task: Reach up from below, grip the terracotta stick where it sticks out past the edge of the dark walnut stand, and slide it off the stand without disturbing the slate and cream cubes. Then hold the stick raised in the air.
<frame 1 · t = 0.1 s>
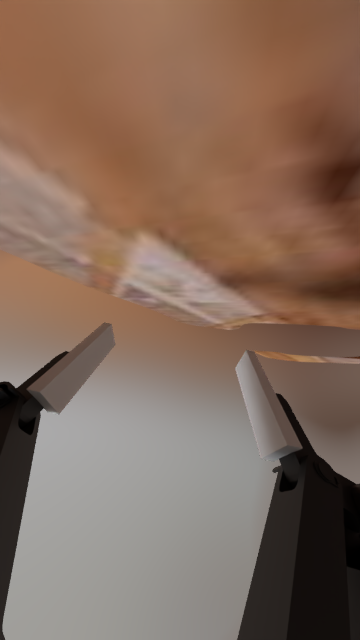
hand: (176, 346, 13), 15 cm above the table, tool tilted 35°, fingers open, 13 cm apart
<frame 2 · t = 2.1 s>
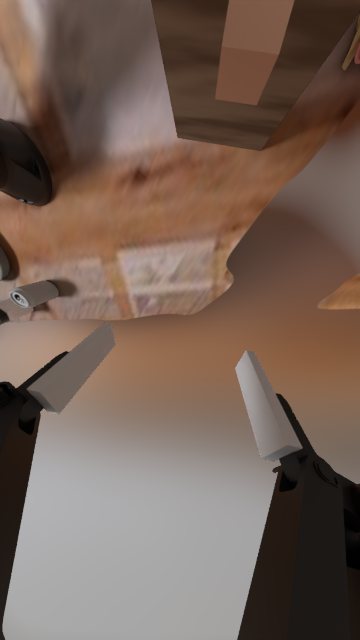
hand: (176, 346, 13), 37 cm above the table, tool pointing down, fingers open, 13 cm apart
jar: (24, 303, 61), on the table
can: (51, 288, 55), on the table
walnut stand: (226, 105, 26), on the table
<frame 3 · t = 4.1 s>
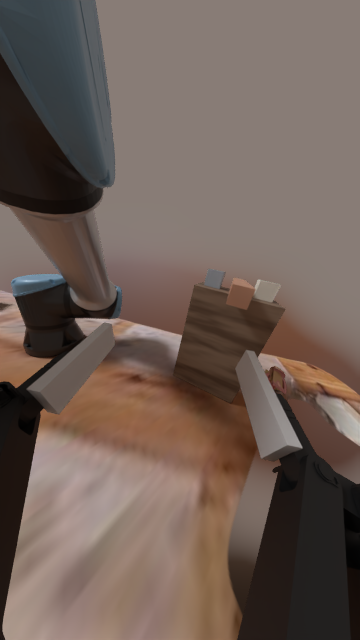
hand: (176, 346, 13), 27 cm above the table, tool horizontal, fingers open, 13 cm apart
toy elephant: (269, 389, 45), on the table
cream cube: (260, 298, 31), point 30 cm above the table, touching walnut stand
terracotta stick: (235, 294, 29), point 30 cm above the table, touching walnut stand
slate cube: (212, 286, 34), point 30 cm above the table, touching walnut stand
walnut stand: (203, 377, 44), on the table
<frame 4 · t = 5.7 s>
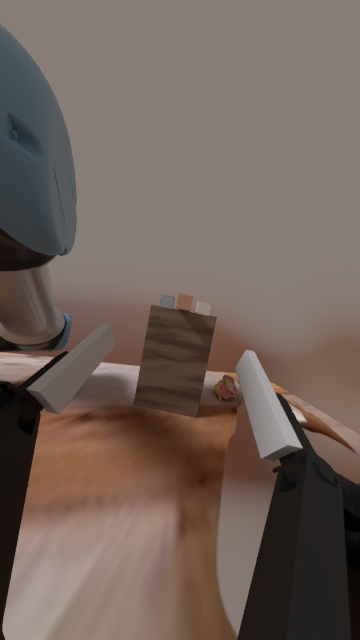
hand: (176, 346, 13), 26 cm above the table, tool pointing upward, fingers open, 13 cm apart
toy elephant: (226, 398, 50), on the table
cream cube: (201, 314, 42), point 30 cm above the table, touching walnut stand
terracotta stick: (183, 311, 38), point 30 cm above the table, touching walnut stand
slate cube: (166, 308, 43), point 30 cm above the table, touching walnut stand
walnut stand: (167, 399, 43), on the table
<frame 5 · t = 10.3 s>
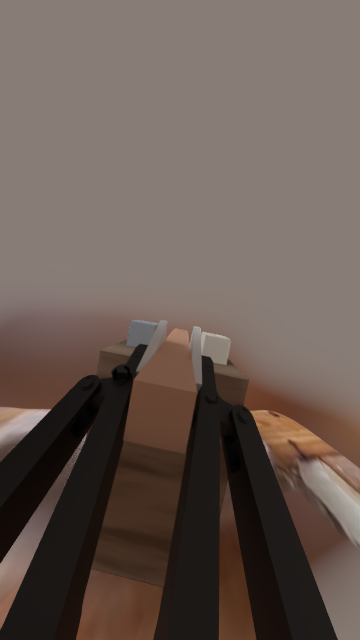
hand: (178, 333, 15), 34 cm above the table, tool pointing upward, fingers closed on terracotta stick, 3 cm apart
cream cube: (210, 358, 22), point 30 cm above the table, touching walnut stand
terracotta stick: (174, 359, 18), point 30 cm above the table, touching gripper, walnut stand
slate cube: (142, 344, 22), point 30 cm above the table, touching walnut stand
walnut stand: (144, 520, 22), on the table
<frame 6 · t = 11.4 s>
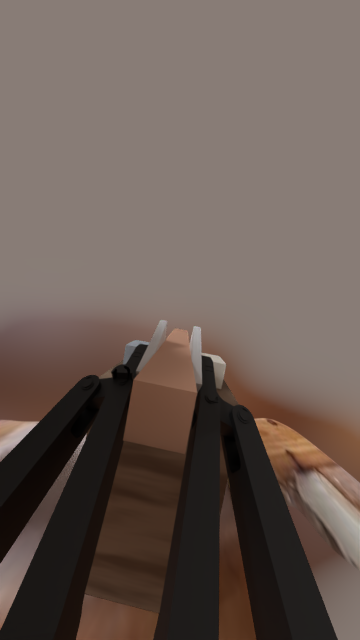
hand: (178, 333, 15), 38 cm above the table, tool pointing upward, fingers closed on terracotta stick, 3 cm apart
cream cube: (206, 380, 22), point 30 cm above the table, touching walnut stand
terracotta stick: (174, 359, 18), point 34 cm above the table, touching gripper
slate cube: (138, 366, 22), point 30 cm above the table, touching walnut stand
walnut stand: (140, 540, 22), on the table
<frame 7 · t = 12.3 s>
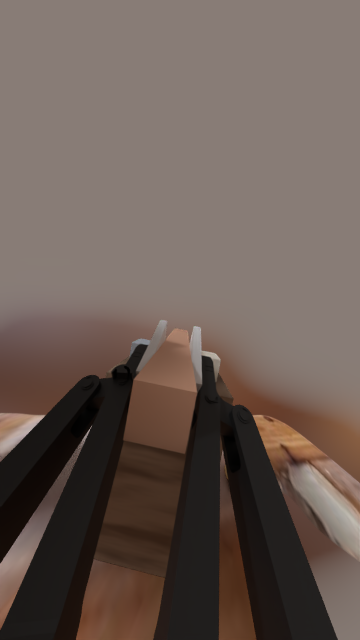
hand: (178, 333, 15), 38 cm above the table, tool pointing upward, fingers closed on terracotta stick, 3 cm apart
cream cube: (203, 374, 24), point 30 cm above the table, touching walnut stand
terracotta stick: (174, 359, 18), point 34 cm above the table, touching gripper
slate cube: (142, 362, 25), point 30 cm above the table, touching walnut stand
walnut stand: (144, 518, 25), on the table
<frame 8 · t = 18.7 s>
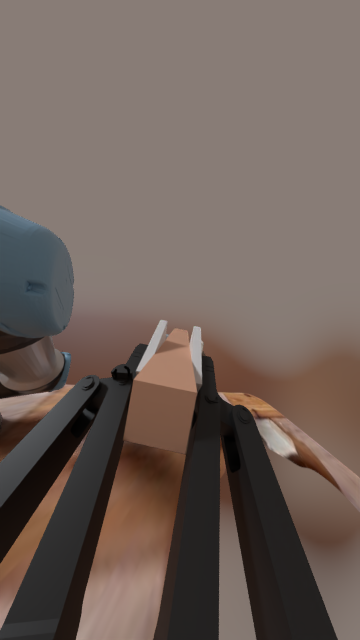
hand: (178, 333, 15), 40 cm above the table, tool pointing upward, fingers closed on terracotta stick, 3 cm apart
cream cube: (194, 352, 44), point 30 cm above the table, touching walnut stand
terracotta stick: (174, 359, 18), point 35 cm above the table, touching gripper
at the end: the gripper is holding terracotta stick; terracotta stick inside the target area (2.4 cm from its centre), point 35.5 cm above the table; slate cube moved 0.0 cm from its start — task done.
